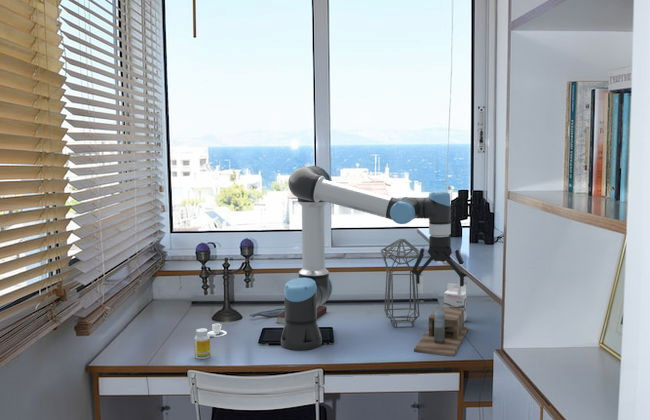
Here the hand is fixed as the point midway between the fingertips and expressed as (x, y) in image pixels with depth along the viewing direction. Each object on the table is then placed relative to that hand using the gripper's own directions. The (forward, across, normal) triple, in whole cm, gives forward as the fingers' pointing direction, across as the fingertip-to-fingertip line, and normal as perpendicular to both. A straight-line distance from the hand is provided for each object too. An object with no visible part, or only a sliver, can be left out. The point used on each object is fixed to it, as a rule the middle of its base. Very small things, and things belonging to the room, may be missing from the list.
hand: (440, 293), depth 217 cm
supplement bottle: (+18, +75, +39) cm, 87 cm away
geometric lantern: (+19, +19, -20) cm, 34 cm away
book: (+19, +62, -16) cm, 67 cm away
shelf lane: (+19, 0, -6) cm, 20 cm away
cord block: (+18, 0, -9) cm, 20 cm away
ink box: (+19, 0, -33) cm, 38 cm away
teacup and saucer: (+19, +88, +16) cm, 91 cm away
